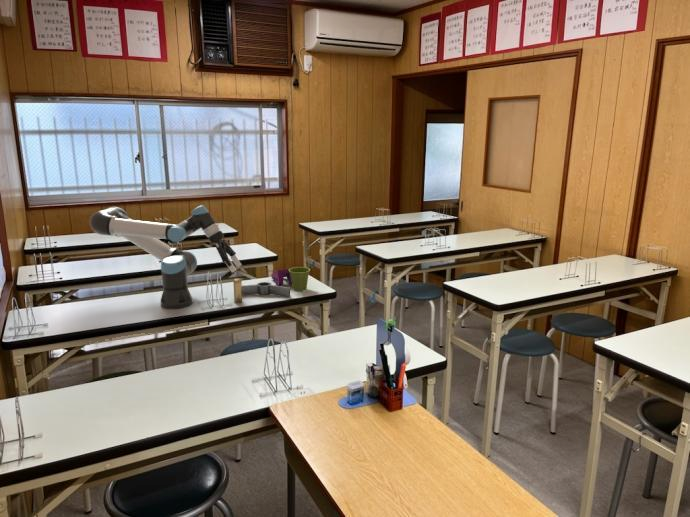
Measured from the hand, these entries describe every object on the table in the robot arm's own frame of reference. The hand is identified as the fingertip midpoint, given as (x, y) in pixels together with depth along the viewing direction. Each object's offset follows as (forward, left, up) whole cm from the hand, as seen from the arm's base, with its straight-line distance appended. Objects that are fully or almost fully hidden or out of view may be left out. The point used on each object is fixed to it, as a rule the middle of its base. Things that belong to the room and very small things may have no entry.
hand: (237, 268), depth 257 cm
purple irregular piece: (+18, +27, -16) cm, 36 cm away
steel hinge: (+12, +6, -15) cm, 21 cm away
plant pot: (+30, +15, -16) cm, 37 cm away
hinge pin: (+2, -8, -15) cm, 17 cm away
